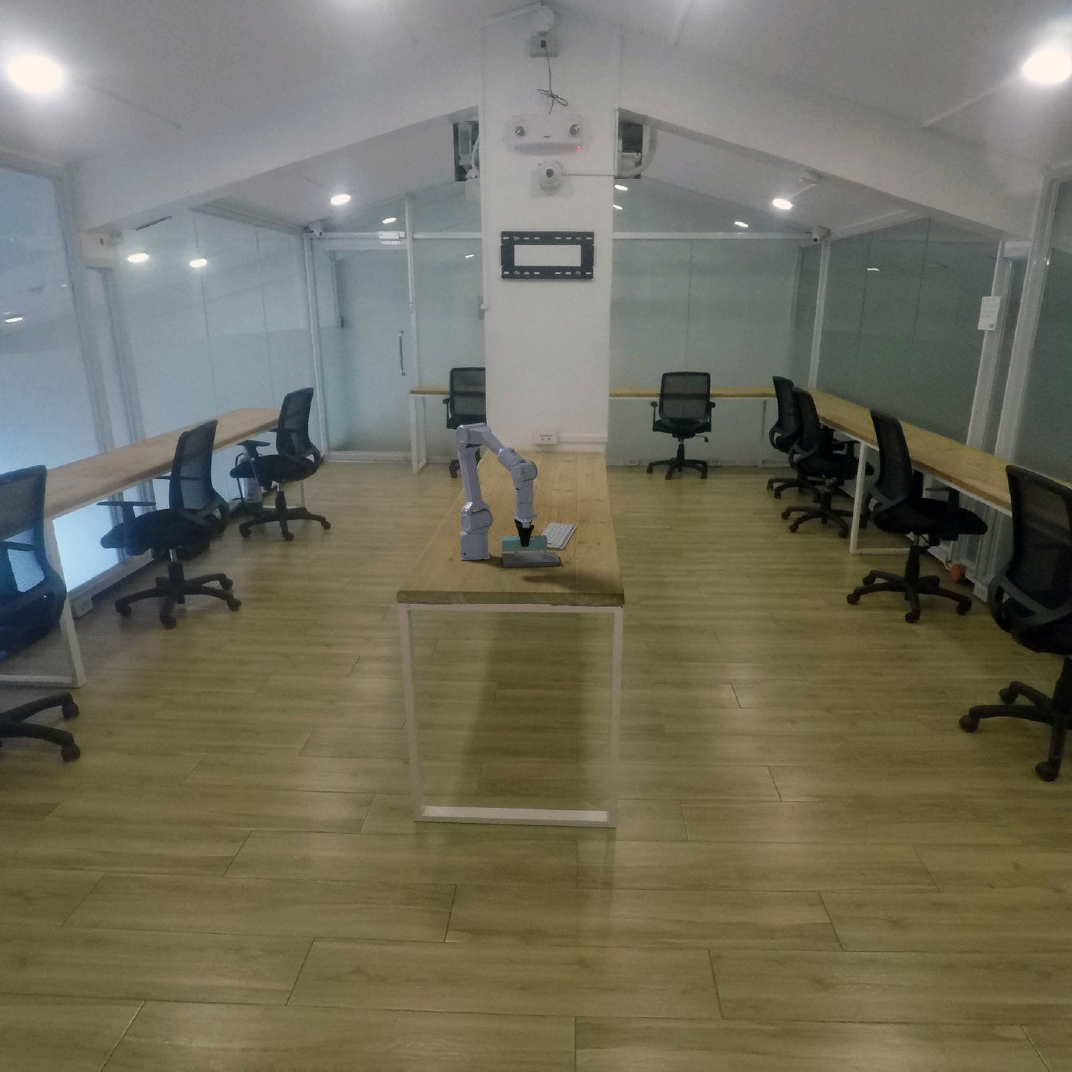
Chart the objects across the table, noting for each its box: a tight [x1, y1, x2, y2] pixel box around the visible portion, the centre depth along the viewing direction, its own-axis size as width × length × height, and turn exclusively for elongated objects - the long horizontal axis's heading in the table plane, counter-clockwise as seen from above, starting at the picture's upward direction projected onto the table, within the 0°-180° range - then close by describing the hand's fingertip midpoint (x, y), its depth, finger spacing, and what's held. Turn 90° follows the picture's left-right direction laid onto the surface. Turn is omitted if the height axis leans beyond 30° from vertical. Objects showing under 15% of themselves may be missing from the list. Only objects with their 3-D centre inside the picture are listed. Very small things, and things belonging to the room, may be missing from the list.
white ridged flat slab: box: [540, 522, 578, 551], centre depth 273 cm, size 31×3×12 cm
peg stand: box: [501, 550, 560, 568], centre depth 245 cm, size 18×10×6 cm, turn 96°
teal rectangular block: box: [500, 534, 548, 553], centre depth 233 cm, size 14×4×4 cm, turn 96°
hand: (524, 544), depth 233 cm, fingers closed on teal rectangular block, 4 cm apart
